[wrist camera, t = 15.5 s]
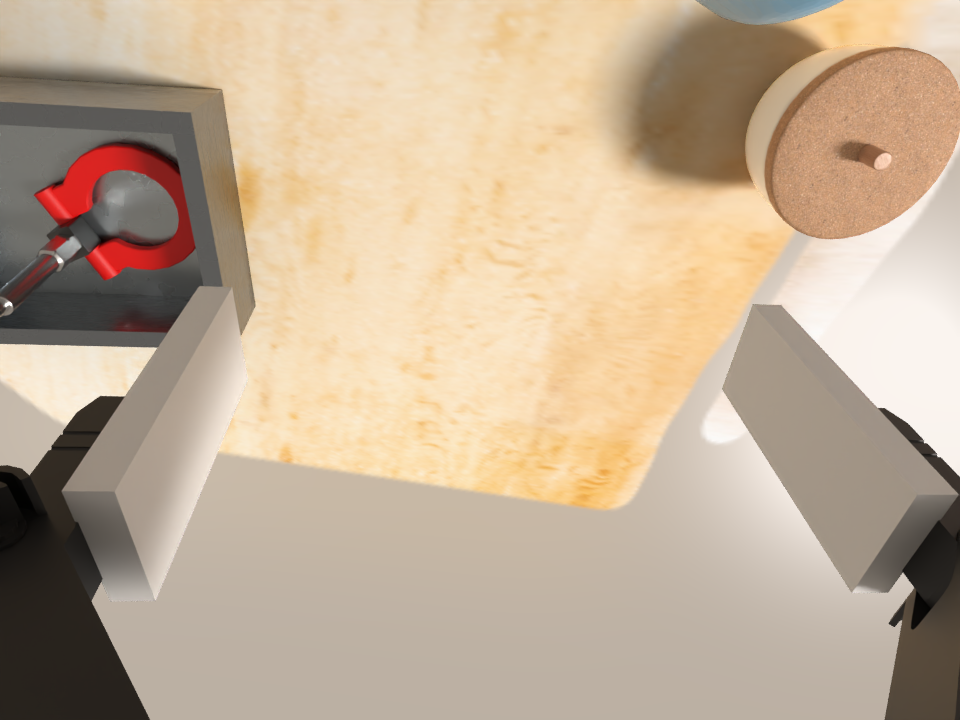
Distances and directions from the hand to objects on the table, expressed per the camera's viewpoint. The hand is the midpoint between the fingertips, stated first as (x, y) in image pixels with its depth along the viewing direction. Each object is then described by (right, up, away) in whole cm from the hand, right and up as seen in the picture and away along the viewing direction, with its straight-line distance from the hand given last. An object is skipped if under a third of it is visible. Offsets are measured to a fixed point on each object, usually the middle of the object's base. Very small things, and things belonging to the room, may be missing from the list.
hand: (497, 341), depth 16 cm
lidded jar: (+21, +16, +26) cm, 37 cm away
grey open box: (-27, +10, +26) cm, 39 cm away
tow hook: (-24, +10, +25) cm, 36 cm away
